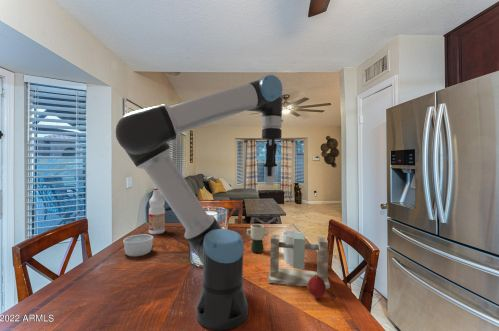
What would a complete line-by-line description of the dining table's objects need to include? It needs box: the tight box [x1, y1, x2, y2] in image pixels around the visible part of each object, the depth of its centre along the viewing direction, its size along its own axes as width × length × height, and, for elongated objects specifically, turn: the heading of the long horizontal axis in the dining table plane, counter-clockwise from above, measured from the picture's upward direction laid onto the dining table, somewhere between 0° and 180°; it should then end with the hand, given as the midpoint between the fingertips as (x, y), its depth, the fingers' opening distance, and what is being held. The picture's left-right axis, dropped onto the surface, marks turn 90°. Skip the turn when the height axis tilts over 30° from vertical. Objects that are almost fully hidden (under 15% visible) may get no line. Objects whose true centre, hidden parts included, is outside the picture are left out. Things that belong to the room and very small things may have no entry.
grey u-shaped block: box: [292, 232, 306, 270], centre depth 92 cm, size 4×8×11 cm, turn 171°
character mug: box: [246, 223, 269, 253], centre depth 120 cm, size 11×7×13 cm, turn 85°
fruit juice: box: [148, 186, 166, 235], centre depth 149 cm, size 9×9×28 cm
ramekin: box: [122, 233, 154, 257], centre depth 117 cm, size 13×13×7 cm
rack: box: [267, 234, 331, 289], centre depth 92 cm, size 22×10×16 cm, turn 81°
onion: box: [307, 274, 327, 299], centre depth 79 cm, size 6×6×8 cm
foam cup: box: [281, 230, 302, 266], centre depth 108 cm, size 10×9×13 cm
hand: (270, 183), depth 92 cm, fingers open, 13 cm apart
